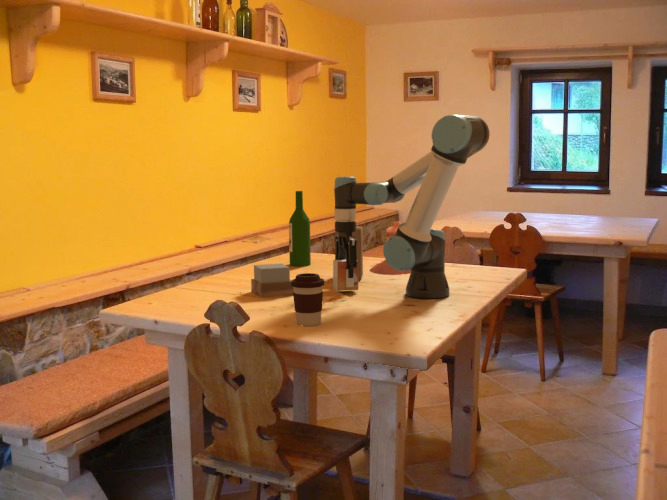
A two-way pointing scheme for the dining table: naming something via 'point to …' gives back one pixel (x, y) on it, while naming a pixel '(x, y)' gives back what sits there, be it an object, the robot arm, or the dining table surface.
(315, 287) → the coffee cup
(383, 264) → the ceramic vessels
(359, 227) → the block
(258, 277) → the tower top
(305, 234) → the wine bottle
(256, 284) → the tower base
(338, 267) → the small box
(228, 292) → the dining table surface
